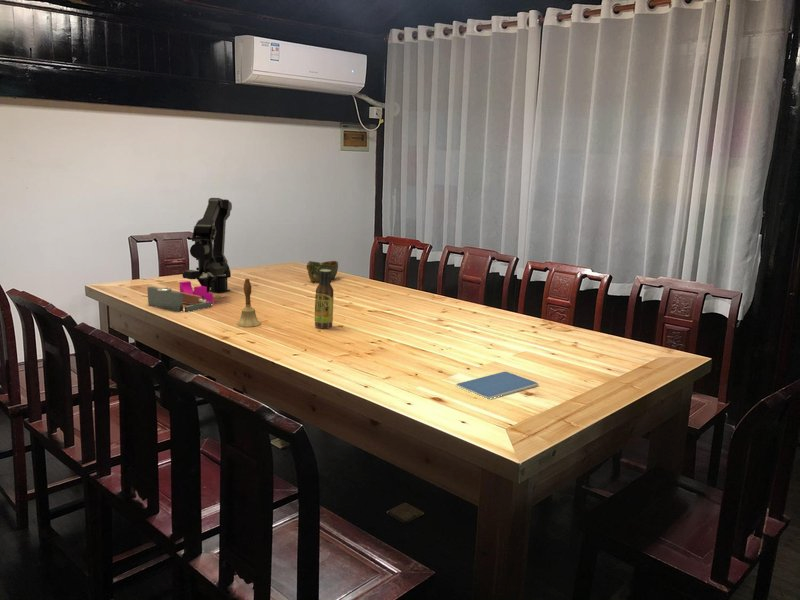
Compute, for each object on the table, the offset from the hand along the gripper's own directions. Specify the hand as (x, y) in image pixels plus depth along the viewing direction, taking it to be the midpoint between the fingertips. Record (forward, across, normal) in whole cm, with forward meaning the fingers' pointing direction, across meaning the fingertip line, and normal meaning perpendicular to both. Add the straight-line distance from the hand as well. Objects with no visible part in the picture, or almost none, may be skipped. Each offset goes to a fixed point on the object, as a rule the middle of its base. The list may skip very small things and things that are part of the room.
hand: (206, 293), depth 260 cm
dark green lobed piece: (+3, +64, -5) cm, 64 cm away
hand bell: (+3, -16, -41) cm, 44 cm away
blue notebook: (+4, -20, -137) cm, 138 cm away
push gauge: (+3, -14, 0) cm, 14 cm away
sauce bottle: (+3, -2, -63) cm, 63 cm away
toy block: (+3, -5, 0) cm, 6 cm away
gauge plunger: (+2, -10, -1) cm, 11 cm away
